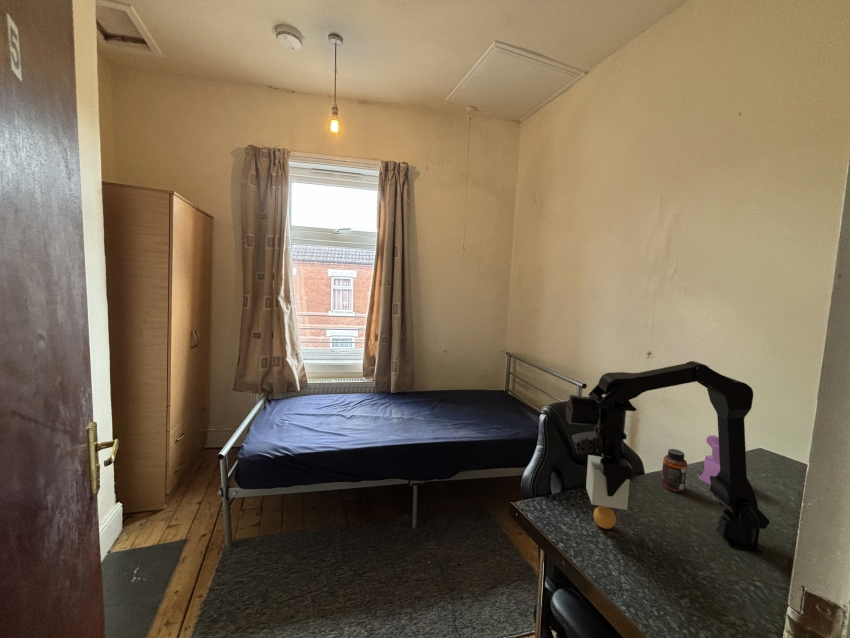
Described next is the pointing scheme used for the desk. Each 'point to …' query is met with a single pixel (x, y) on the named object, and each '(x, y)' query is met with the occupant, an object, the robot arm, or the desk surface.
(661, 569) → the desk surface
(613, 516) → the ball
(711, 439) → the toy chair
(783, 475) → the desk surface
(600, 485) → the plain beige cube
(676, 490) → the supplement bottle
